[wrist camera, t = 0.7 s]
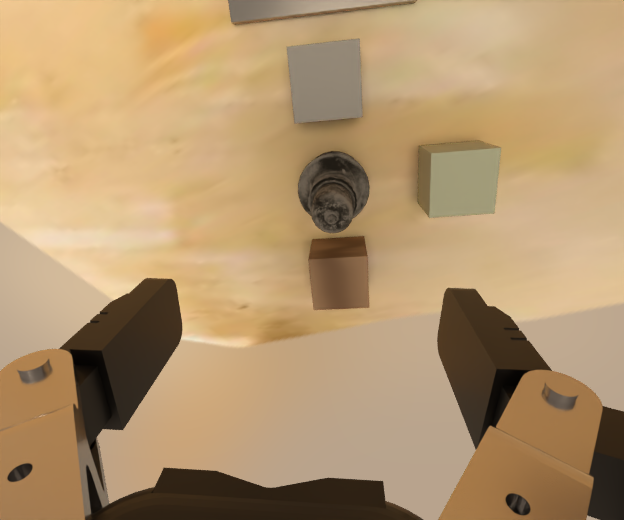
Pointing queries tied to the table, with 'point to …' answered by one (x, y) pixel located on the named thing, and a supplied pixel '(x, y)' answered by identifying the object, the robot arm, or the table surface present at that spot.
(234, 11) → the grey tile
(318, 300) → the walnut block
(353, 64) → the grey block
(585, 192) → the table surface
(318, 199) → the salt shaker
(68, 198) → the table surface
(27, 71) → the table surface
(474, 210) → the sage block
